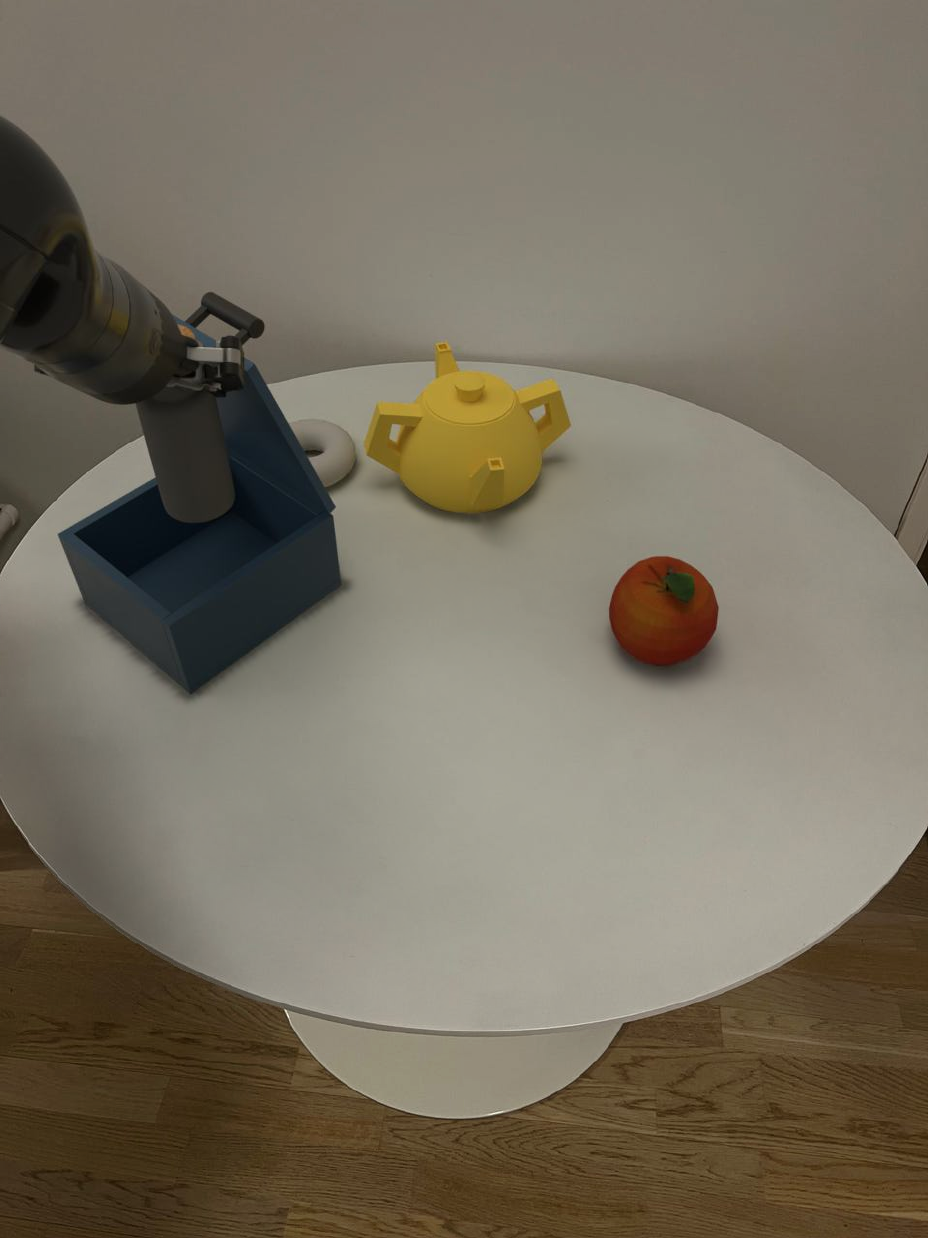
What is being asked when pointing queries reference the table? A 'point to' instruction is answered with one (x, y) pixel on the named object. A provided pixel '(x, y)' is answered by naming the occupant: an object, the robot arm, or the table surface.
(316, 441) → the donut
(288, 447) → the cool box lid
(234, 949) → the table surface
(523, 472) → the teapot
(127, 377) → the robot arm
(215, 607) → the cool box
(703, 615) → the fruit
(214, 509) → the bottle
